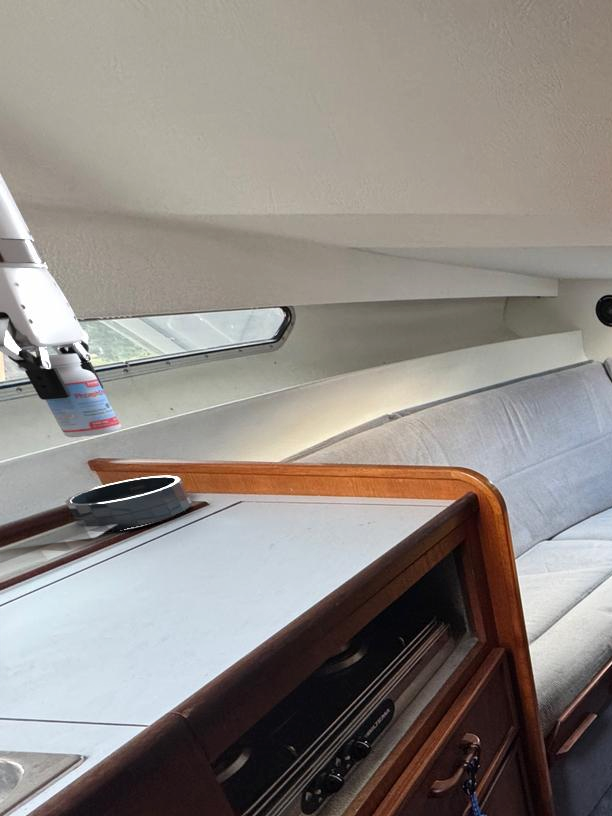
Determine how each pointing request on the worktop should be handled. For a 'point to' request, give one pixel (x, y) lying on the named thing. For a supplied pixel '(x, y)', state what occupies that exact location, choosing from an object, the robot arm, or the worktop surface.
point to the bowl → (130, 502)
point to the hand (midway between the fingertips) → (73, 393)
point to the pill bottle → (81, 400)
